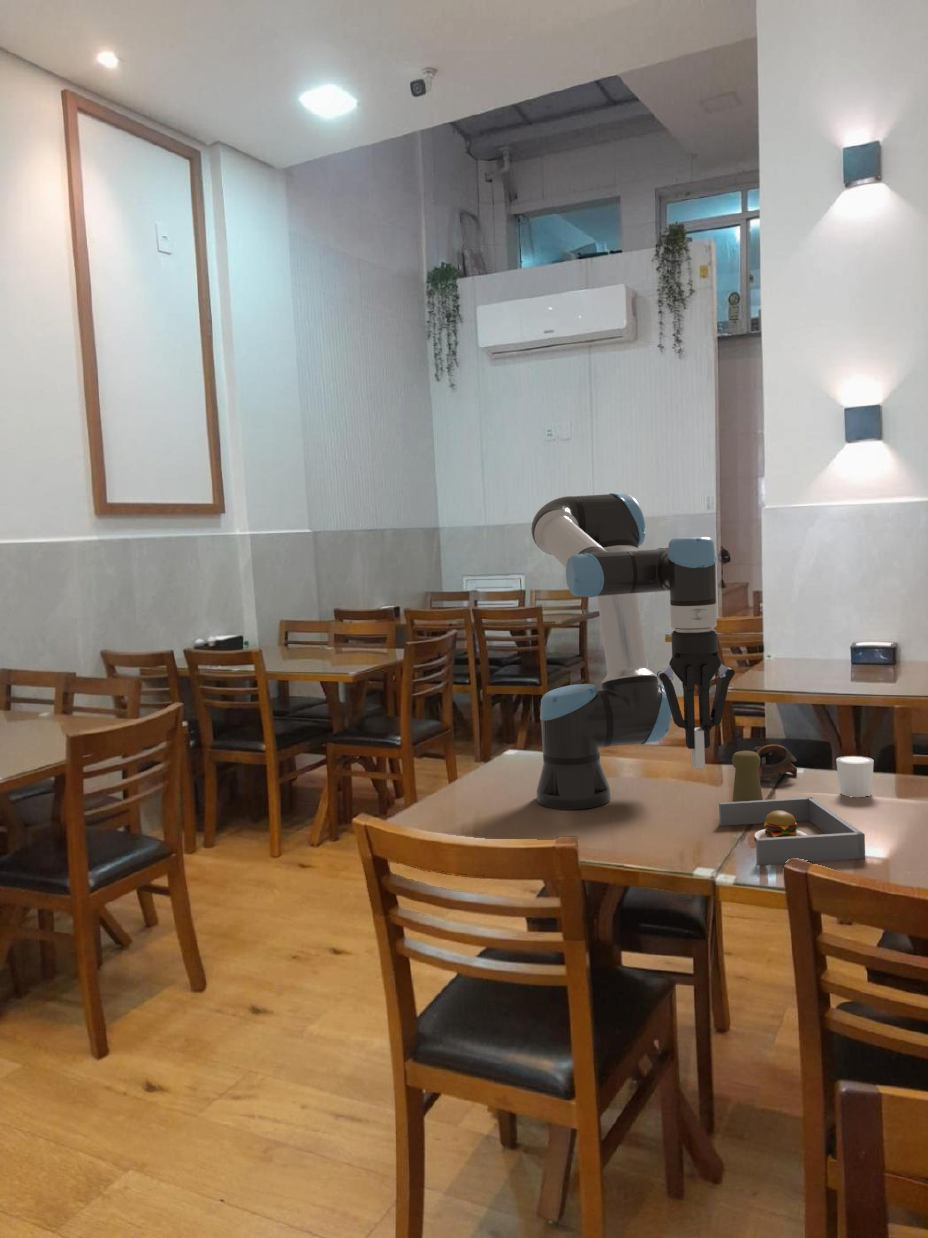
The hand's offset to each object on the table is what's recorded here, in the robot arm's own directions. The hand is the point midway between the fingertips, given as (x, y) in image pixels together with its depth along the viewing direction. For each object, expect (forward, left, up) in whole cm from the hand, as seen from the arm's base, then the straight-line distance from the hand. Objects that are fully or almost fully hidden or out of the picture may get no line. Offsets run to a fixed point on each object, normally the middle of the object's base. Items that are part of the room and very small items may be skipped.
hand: (698, 766), depth 158 cm
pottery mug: (-41, +26, -14) cm, 50 cm away
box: (+1, +15, -14) cm, 20 cm away
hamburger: (-1, +14, -14) cm, 20 cm away
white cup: (-24, +37, -14) cm, 47 cm away
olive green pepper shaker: (-19, +14, -14) cm, 28 cm away
